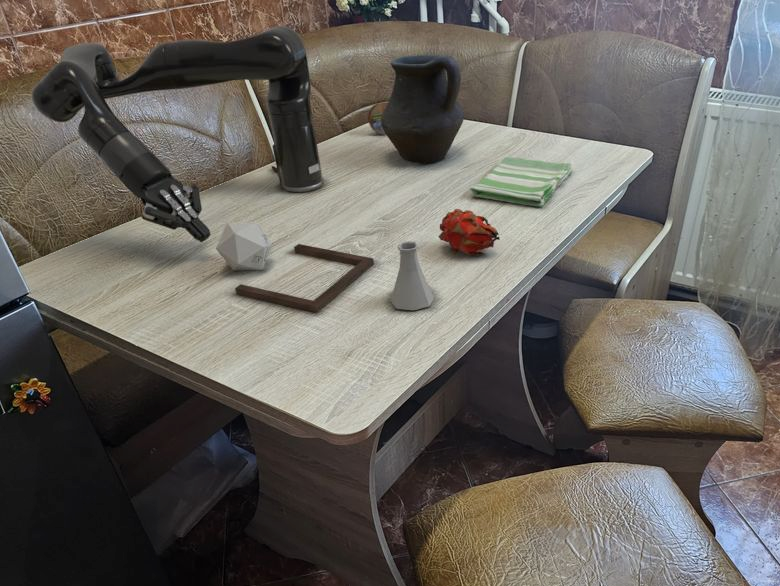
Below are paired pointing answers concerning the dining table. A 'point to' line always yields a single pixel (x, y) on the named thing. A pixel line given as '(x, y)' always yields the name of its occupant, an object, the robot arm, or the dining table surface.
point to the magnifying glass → (377, 117)
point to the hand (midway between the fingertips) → (206, 238)
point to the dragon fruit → (467, 232)
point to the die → (244, 246)
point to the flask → (410, 281)
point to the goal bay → (324, 298)
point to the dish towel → (522, 181)
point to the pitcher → (423, 107)
